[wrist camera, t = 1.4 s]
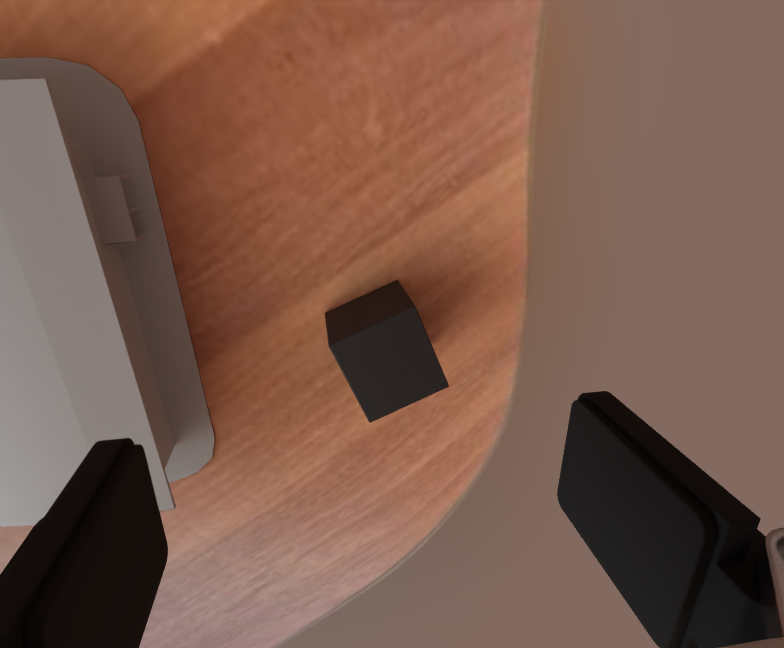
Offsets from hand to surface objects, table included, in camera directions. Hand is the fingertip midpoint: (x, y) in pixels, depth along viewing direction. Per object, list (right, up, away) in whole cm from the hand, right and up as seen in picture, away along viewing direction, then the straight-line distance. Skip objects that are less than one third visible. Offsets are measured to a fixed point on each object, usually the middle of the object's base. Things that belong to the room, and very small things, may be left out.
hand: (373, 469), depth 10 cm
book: (-18, +4, +14) cm, 23 cm away
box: (0, +3, +17) cm, 18 cm away
